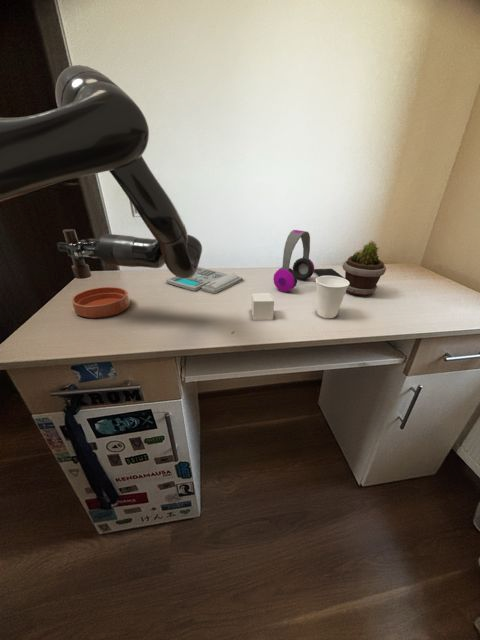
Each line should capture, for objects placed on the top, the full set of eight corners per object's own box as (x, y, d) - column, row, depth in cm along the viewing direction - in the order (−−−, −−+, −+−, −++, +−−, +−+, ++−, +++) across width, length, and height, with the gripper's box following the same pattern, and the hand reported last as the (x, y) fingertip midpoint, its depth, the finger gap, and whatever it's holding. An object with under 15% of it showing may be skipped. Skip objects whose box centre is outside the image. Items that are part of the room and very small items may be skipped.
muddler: (73, 279, 76) (57, 231, 69) (76, 274, 79) (61, 228, 72) (90, 278, 77) (76, 231, 70) (92, 273, 80) (79, 228, 73)
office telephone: (243, 274, 112) (211, 289, 97) (243, 280, 113) (212, 296, 98) (197, 263, 121) (162, 275, 106) (198, 269, 122) (163, 282, 107)
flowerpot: (338, 283, 114) (348, 230, 103) (378, 288, 111) (392, 234, 100) (336, 296, 102) (347, 238, 91) (380, 302, 99) (397, 242, 88)
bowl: (71, 322, 79) (66, 309, 77) (80, 301, 91) (76, 289, 89) (129, 315, 84) (126, 303, 82) (131, 296, 96) (128, 285, 94)
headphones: (291, 295, 101) (297, 237, 90) (270, 290, 105) (273, 233, 94) (314, 280, 116) (321, 228, 105) (295, 275, 120) (300, 225, 109)
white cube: (273, 319, 85) (274, 301, 82) (253, 320, 84) (253, 301, 81) (270, 310, 90) (271, 293, 87) (251, 311, 89) (251, 293, 86)
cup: (304, 310, 91) (309, 277, 85) (329, 306, 95) (335, 274, 89) (322, 324, 84) (328, 288, 78) (349, 318, 87) (356, 284, 81)
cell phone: (331, 270, 127) (331, 268, 127) (349, 284, 113) (350, 282, 112) (313, 271, 126) (313, 268, 125) (329, 285, 111) (329, 283, 111)
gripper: (136, 230, 75) (78, 225, 77) (102, 241, 64) (35, 235, 66) (141, 258, 79) (86, 253, 82) (110, 273, 68) (47, 267, 70)
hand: (63, 245), depth 74 cm, fingers closed on muddler, 2 cm apart
